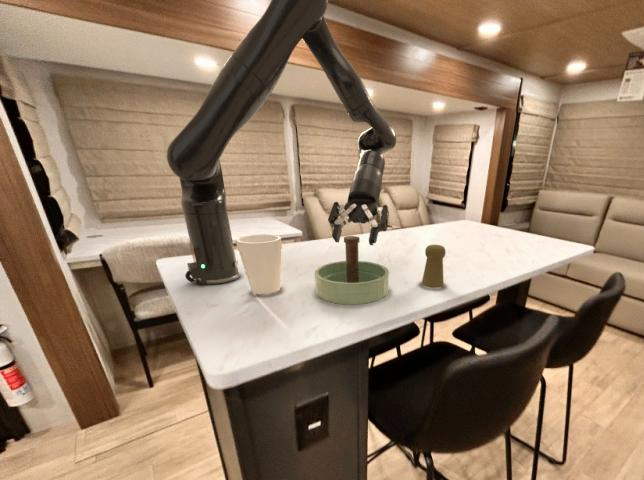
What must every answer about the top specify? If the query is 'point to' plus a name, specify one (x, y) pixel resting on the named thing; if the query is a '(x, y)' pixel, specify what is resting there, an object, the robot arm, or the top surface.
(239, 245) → the foam cup
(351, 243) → the rod
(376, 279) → the bowl
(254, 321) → the top surface
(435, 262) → the cork
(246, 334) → the top surface
